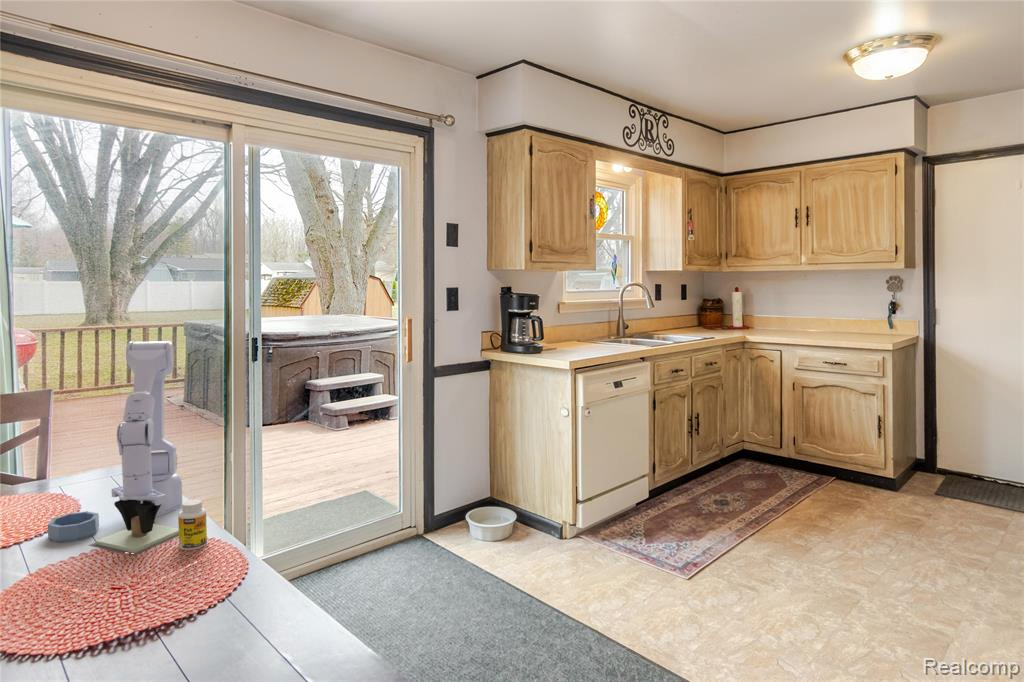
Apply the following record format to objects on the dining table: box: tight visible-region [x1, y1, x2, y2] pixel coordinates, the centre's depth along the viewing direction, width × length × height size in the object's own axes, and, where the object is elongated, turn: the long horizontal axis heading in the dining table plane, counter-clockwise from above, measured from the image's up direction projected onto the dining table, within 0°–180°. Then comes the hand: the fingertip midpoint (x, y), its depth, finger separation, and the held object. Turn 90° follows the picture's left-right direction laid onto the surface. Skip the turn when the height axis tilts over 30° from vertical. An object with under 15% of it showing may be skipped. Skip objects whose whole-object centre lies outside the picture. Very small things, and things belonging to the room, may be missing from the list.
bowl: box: [47, 510, 100, 543], centre depth 142 cm, size 9×9×4 cm
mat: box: [88, 534, 179, 557], centre depth 141 cm, size 14×14×1 cm
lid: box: [95, 516, 179, 553], centre depth 140 cm, size 12×12×5 cm
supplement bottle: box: [177, 498, 208, 551], centre depth 137 cm, size 6×6×10 cm
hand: (139, 530), depth 140 cm, fingers open, 4 cm apart
